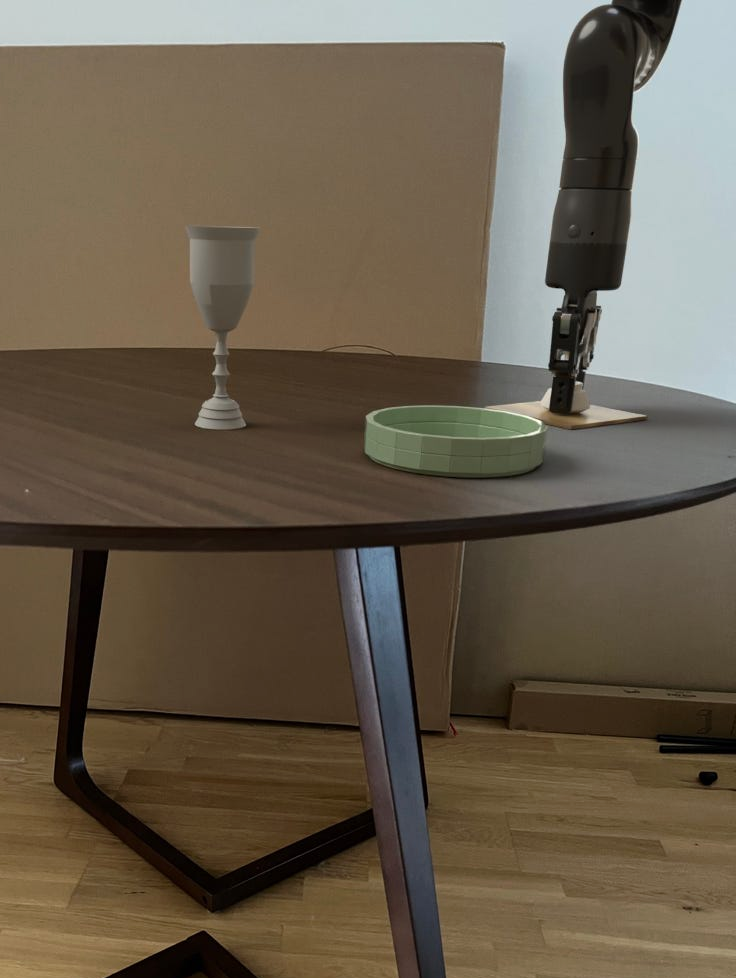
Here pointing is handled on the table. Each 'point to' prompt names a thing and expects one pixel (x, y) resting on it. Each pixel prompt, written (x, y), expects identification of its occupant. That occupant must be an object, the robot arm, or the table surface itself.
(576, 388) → the white jar
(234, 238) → the chalice
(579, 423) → the mat
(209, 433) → the table surface
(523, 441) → the pan
